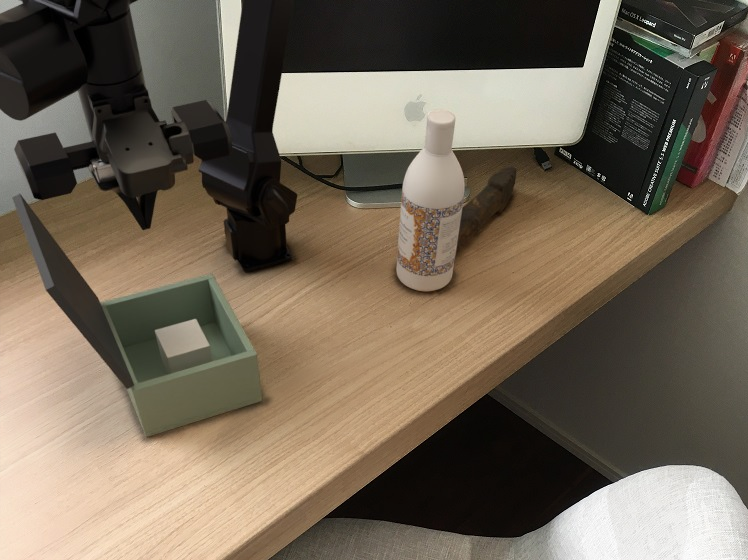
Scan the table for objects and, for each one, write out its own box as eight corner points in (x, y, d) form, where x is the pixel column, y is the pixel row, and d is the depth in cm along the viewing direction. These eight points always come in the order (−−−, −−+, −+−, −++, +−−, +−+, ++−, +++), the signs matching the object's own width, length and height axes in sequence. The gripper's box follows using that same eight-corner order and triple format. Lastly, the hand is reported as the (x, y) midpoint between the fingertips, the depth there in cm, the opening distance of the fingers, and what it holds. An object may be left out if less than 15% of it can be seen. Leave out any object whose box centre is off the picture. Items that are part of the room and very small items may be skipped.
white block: (202, 349, 86) (196, 318, 83) (215, 376, 84) (210, 345, 80) (162, 361, 85) (154, 329, 81) (174, 389, 83) (167, 357, 79)
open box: (220, 321, 90) (212, 273, 85) (262, 401, 83) (257, 354, 78) (111, 351, 87) (95, 303, 81) (146, 437, 80) (132, 390, 74)
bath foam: (387, 264, 98) (397, 104, 81) (437, 252, 99) (457, 94, 83) (409, 298, 94) (424, 138, 78) (461, 286, 96) (486, 127, 80)
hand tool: (450, 266, 98) (455, 235, 94) (424, 253, 99) (428, 221, 95) (528, 200, 107) (536, 168, 103) (504, 188, 108) (510, 157, 105)
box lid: (20, 193, 69) (11, 197, 69) (54, 285, 62) (45, 290, 62) (98, 297, 81) (91, 301, 81) (134, 385, 74) (127, 389, 74)
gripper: (16, 141, 60) (73, 301, 72) (246, 91, 65) (261, 249, 78) (-14, 73, 65) (44, 233, 78) (199, 32, 71) (221, 189, 83)
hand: (145, 227), depth 79 cm, fingers closed
